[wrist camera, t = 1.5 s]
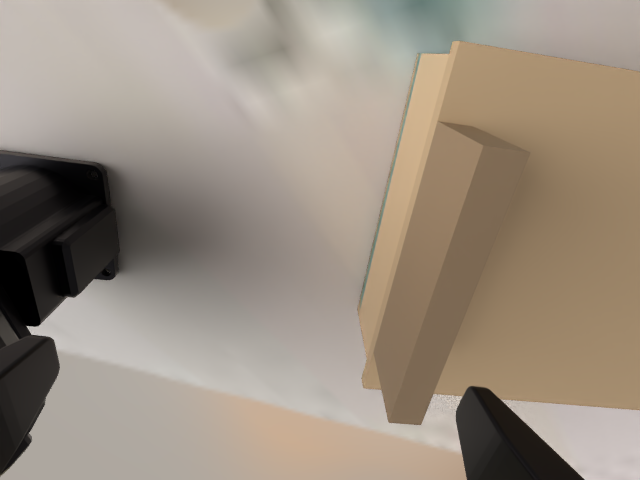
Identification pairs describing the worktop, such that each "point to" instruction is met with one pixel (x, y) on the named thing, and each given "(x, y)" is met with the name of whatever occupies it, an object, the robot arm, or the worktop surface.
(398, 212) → the mailer box
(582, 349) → the lid
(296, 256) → the worktop surface
